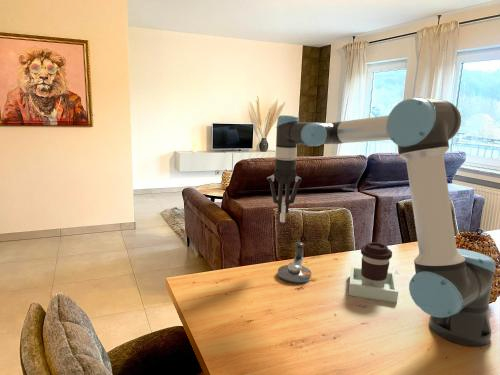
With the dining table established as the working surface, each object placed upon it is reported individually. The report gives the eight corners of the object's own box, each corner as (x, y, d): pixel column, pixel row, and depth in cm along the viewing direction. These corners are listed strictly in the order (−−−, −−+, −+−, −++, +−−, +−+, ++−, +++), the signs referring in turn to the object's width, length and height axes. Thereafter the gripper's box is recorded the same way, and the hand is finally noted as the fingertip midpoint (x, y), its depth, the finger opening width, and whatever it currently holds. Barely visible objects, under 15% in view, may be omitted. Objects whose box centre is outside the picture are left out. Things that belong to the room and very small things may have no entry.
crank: (300, 274, 133) (301, 255, 131) (286, 272, 134) (287, 253, 132) (305, 260, 145) (307, 243, 144) (293, 258, 146) (294, 241, 145)
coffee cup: (354, 289, 126) (358, 247, 123) (360, 278, 135) (365, 238, 132) (385, 296, 122) (390, 253, 119) (389, 284, 130) (394, 244, 127)
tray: (397, 302, 120) (398, 291, 119) (348, 295, 124) (349, 284, 123) (393, 282, 134) (394, 272, 133) (350, 276, 138) (351, 266, 137)
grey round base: (314, 287, 128) (314, 281, 128) (274, 280, 132) (274, 275, 132) (318, 273, 140) (318, 268, 139) (281, 267, 143) (281, 262, 143)
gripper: (301, 157, 140) (297, 218, 145) (266, 156, 139) (264, 218, 144) (305, 160, 132) (301, 224, 137) (268, 159, 132) (266, 223, 136)
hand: (282, 221), depth 140 cm, fingers closed
